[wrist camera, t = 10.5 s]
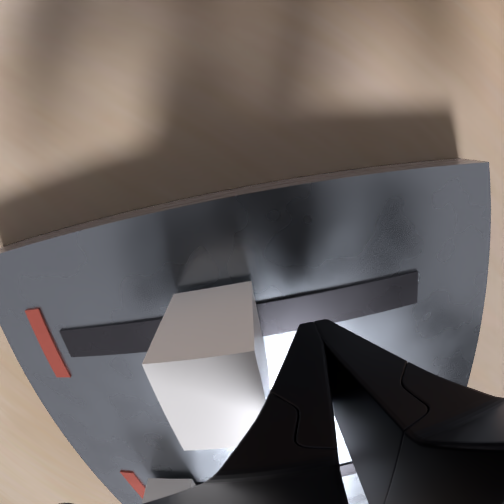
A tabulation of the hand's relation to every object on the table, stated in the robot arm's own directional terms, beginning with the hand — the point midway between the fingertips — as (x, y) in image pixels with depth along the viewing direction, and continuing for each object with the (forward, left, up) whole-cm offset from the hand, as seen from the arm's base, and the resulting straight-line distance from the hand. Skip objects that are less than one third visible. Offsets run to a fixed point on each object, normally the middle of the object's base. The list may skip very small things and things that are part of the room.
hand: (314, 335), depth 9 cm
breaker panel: (+2, +10, -4) cm, 11 cm away
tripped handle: (+3, 0, -1) cm, 3 cm away
